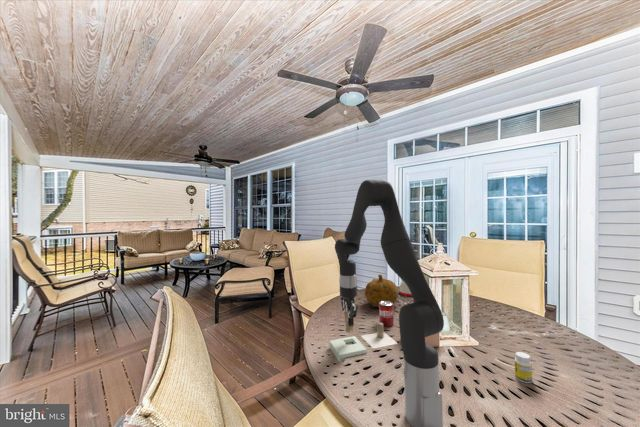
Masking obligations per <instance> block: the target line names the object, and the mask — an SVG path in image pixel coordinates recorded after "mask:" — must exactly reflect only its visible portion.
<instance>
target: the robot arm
mask: <svg viewBox="0 0 640 427" xmlns="http://www.w3.org/2000/svg"><path fill="white" fill-rule="evenodd" d="M369 207H380V208H381V210H382V213H383V218H384V222H383V223H384V224H383V228H382V232H381V236H380V246H381V249H382V252H383V256H384V258H385V261H386V263H387V265H388V267H390V269H391V270H392V271H393V272H394V273H395V275H397V276H398V277H399V278H400V280H402V281H404V282H405V284H406V285H407V286H408V288H409V290H410V292H411V294H412V296H411V297H412V298H413V302H412V303H408V304H404V305H402V307H401V308H400V309H399V314H398V324H399V326H398V327H399V335H400V336H399V337H400V346H401V349H402V352H403V374H404V375H403V376H404V404H405V405H404V406H405V407H404V408H405V419H406V422H407V423H408V424H409V425H410V426H411V427H444V424H443V420H444V419H443V395H442V393H441V392H440V372H439V370H440V369H439V368H440V367H439V353H438V351H437V349H436V348H435V347H432V346H430V345H428V344H425V337H427V336H431V335H434V334H437V333H439V334H440V333H441V332H442V331H443V329H444V326H445V320H444V316H443V313H442V311H441V310H442V309H441V308H440V305H439V304H438V301H437V299H436V297H435V295H434V293H433V291H432V289H431V288H430V286H429V284H428V282H427V279H426V277H425V275H424V271H423V270H422V268H421V266H420V262H419V260H418V257H417V255H416V252H415V249H414V245H413V243H412V241H411V238H410V237H409V234H408V231H407V229H406V226H405V223H404V221H403V218H402V215H401V212H400V208H399V205H398V201H397V197H396V193H395V191H394V188H393V186H392V184H391V183H390V182H389V180H387V179H366V180H363V181H362V182H361V183H360V185H359V187H358V191H357V194H356V198H355V201H354V205H353V210H352V214H351V218H350V221H349V222H348V225H347V227H346V228H345V229H346V230H345V232H344V238H341V239H337V240H336V241H335V244H334V250H335V254H336V258H337V259H338V260H337V261H338V265H339V280H338V281H339V282H338V283H339V284H338V285H339V295H340V303H341V308H342V311H343V313H344V315H345V308H346V311H347V312H348V325H349V326H353V327H354V325H355V324H354V318H357V314H358V308H359V306H358V305H356V304H355V303H356V301H355V297H357V296H358V278H357V264H356V262H355V261H354V260H352V259H348V258H346V256H350V255H356V254H357V253H358V252H359V251H360V246H361V240H362V237H363V236H364V234H365V232H366V230H367V219H366V216H365V215H366V214H365V212H366V211H367V209H368V208H369ZM348 309H351V310H348ZM344 322H345V323H346V321H345V320H344Z"/></svg>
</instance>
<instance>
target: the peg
mask: <svg viewBox="0 0 640 427" xmlns="http://www.w3.org/2000/svg"><path fill="white" fill-rule="evenodd" d="M348 310H351V309H348ZM345 321H346V322H345ZM344 322H345V332H346V333H348V334H349V333H353V332H354V325H353V326H349V325H348V312H347V311H346V308H345V314H344Z"/></svg>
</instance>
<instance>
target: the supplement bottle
mask: <svg viewBox="0 0 640 427" xmlns="http://www.w3.org/2000/svg"><path fill="white" fill-rule="evenodd" d="M514 377H515V379H517V380H518V381H519V382H522V383H525V384H531V383H532V382H533V363H532V362H531V356H530V355H529V354H528V353H525V352H522V351H517V352H515V358H514Z"/></svg>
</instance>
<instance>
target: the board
mask: <svg viewBox="0 0 640 427" xmlns="http://www.w3.org/2000/svg"><path fill="white" fill-rule="evenodd" d="M360 337H361V338H362V339H363V340H364V341H365V342H366V343H367V344H368V345H369V346H370V347H371V348H372V349H373V350H374V349H378V348H383V347H388V346H393V345H398V342H397V341H396V340H395V339H393V338H392V337H391V336H390V335H388V334H387V333H386V332H385V330H384V326H383V323H381V322H379V321H378V322H377V323H376V332H374V333H368V334H363V335H360Z"/></svg>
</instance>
